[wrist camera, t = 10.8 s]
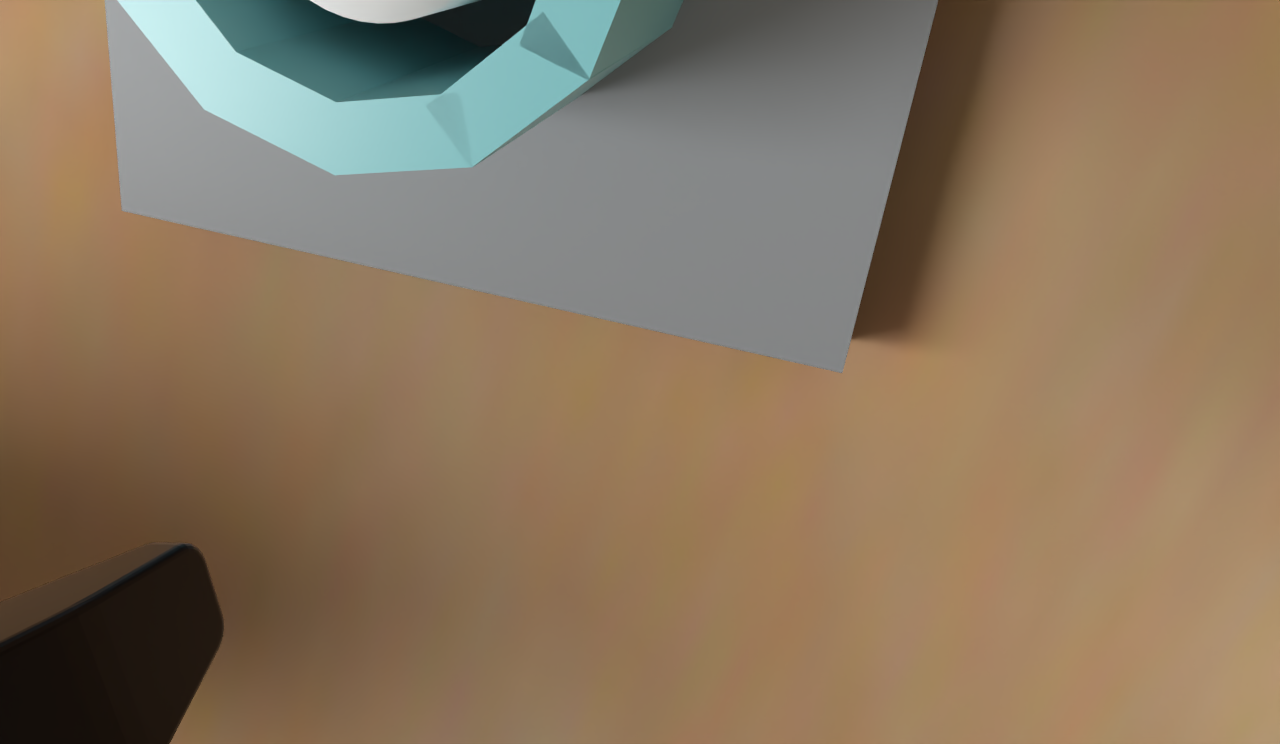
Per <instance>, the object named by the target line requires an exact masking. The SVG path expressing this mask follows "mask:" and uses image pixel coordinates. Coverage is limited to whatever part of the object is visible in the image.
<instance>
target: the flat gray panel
mask: <svg viewBox="0 0 1280 744" xmlns="http://www.w3.org/2000/svg"><path fill="white" fill-rule="evenodd" d="M310 1H312V2H313V3H315V4H317V5H319V6H320V7H322V8H324V9H326V10H328V11H330V12H333V13H335V14H337V15H340V16H342V17H346V18H349V19H353V20H357V21H361V22H370V23H397V22H402V21H408V20H413V19H416V18H420V17H421V18H423V19H425V20H427V21H429V22H431V23H433V24H435V25H437V26H439V27H441V28H443V29H445V30H447V31H449V32H451V33H453V34H455V35H457V36H459V37H461V38H463V39H465V40H467V41H469V42H471V43H473V44H475V45H477V46H479V47H482V46H493V45H503V44H504V43H505V42H506V41H508V40H509V39H510V38H511V37H513V36H514V35H515V34H516V33H518V32H519V31H520V30H521V29H523V28H524V27H525V26H526V25H527V23H528V20H529V18H530V15H531V12H532V9H533V7H534V4H535V1H536V0H310ZM937 3H938V0H683V3H682V5H681V7H680V9H679V12H678V14H677V16H676V19H675V21H674V23H673V26H672V28H671V29H669V30H668V31H666V32H665V33H664V34H662V35H661V36H659V37H658V38H657V39H655V40H654V41H653V42H651V43H650V44H649V45H647V46H646V47H645V48H643V49H642V50H641V51H639V52H638V53H637V54H635V55H634V56H633V57H631V58H630V59H629V60H627V61H626V62H625V63H623V64H622V65H621V66H619V67H618V68H617V69H615V70H614V71H613V72H611V73H610V74H609V75H607V76H606V77H604V78H603V79H602V80H600V81H599V82H598V83H596V84H595V85H594V86H592V87H591V88H590V89H588V90H587V91H586V92H584V93H583V94H582V95H581V96H579V97H578V98H576V99H575V100H573V101H572V102H570V103H569V104H567V105H566V106H564V107H563V108H561V109H560V110H558V111H557V112H555V113H554V114H552V115H551V116H549V117H548V118H546V119H545V120H543V121H542V122H540V123H539V124H537V125H536V126H534V127H533V128H531V129H530V130H528V131H527V132H525V133H524V134H522V135H521V136H519V137H518V138H516V139H515V140H513V141H512V142H510V143H509V144H507V145H506V146H504V147H503V148H501V149H500V150H498V151H497V152H495V153H494V154H492V155H491V156H489V157H488V158H486V159H485V160H483V161H482V162H480V163H479V164H477V165H476V166H474V167H472V168H471V167H468V168H451V169H434V170H417V171H400V172H383V173H365V174H348V175H336V176H335V175H333V174H331V173H329V172H327V171H325V170H323V169H321V168H319V167H317V166H315V165H313V164H311V163H309V162H307V161H305V160H303V159H301V158H299V157H298V156H296V155H294V154H292V153H290V152H288V151H286V150H284V149H282V148H280V147H278V146H276V145H274V144H272V143H270V142H268V141H266V140H264V139H262V138H260V137H258V136H256V135H254V134H252V133H250V132H248V131H246V130H244V129H242V128H240V127H238V126H236V125H234V124H232V123H230V122H228V121H226V120H224V119H222V118H220V117H218V116H216V115H214V114H212V113H210V112H208V111H206V110H204V109H203V108H202V106H201V105H200V104H199V103H198V101H197V100H196V99H195V98H194V96H193V95H192V94H191V92H190V91H189V90H188V89H187V87H186V86H185V85H184V84H183V82H182V81H181V80H180V79H179V77H178V76H177V75H176V74H175V72H174V71H173V70H172V69H171V67H170V66H169V65H168V64H167V62H166V61H165V60H164V59H163V57H162V56H161V55H160V54H159V52H158V51H157V50H156V48H155V47H154V46H153V45H152V43H151V42H150V41H149V40H148V38H147V37H146V36H145V35H144V33H143V32H142V31H141V30H140V28H139V27H138V26H137V25H136V23H135V22H134V21H133V20H132V18H131V17H130V16H129V15H128V13H127V12H126V11H125V9H124V8H123V7H122V6H121V4H120V3H119V2H118V1H117V0H105V9H106V21H107V33H108V46H109V58H110V71H111V83H112V95H113V108H114V120H115V132H116V145H117V157H118V170H119V182H120V194H121V207H122V211H125V212H129V213H134V214H138V215H143V216H147V217H152V218H156V219H160V220H165V221H169V222H174V223H178V224H183V225H187V226H191V227H196V228H200V229H205V230H209V231H214V232H218V233H223V234H227V235H231V236H236V237H240V238H245V239H249V240H254V241H258V242H263V243H267V244H271V245H276V246H280V247H285V248H289V249H294V250H298V251H302V252H307V253H311V254H316V255H320V256H325V257H329V258H334V259H338V260H342V261H347V262H351V263H356V264H360V265H365V266H369V267H373V268H378V269H382V270H387V271H391V272H396V273H400V274H405V275H409V276H413V277H418V278H422V279H427V280H431V281H436V282H440V283H445V284H449V285H453V286H458V287H462V288H467V289H471V290H476V291H480V292H484V293H489V294H493V295H498V296H502V297H507V298H511V299H516V300H520V301H524V302H529V303H533V304H538V305H542V306H547V307H551V308H555V309H560V310H564V311H569V312H573V313H578V314H582V315H587V316H591V317H595V318H600V319H604V320H609V321H613V322H618V323H622V324H626V325H631V326H635V327H640V328H644V329H649V330H653V331H658V332H662V333H666V334H671V335H675V336H680V337H684V338H689V339H693V340H698V341H702V342H706V343H711V344H715V345H720V346H724V347H729V348H733V349H737V350H742V351H746V352H751V353H755V354H760V355H764V356H769V357H773V358H777V359H782V360H786V361H791V362H795V363H800V364H804V365H808V366H813V367H817V368H822V369H826V370H831V371H835V372H840V373H842V372H843V368H844V364H845V360H846V357H847V353H848V349H849V345H850V341H851V337H852V333H853V329H854V325H855V322H856V318H857V314H858V310H859V306H860V302H861V298H862V294H863V291H864V287H865V283H866V279H867V275H868V271H869V267H870V263H871V260H872V256H873V252H874V248H875V244H876V240H877V236H878V232H879V228H880V225H881V221H882V217H883V213H884V209H885V205H886V201H887V197H888V194H889V190H890V186H891V182H892V178H893V174H894V170H895V166H896V163H897V159H898V155H899V151H900V147H901V143H902V139H903V135H904V131H905V128H906V124H907V120H908V116H909V112H910V108H911V104H912V100H913V97H914V93H915V89H916V85H917V81H918V77H919V73H920V69H921V66H922V62H923V58H924V54H925V50H926V46H927V42H928V38H929V34H930V31H931V27H932V23H933V19H934V15H935V11H936V7H937Z"/></svg>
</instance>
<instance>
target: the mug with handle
mask: <svg viewBox="0 0 1280 744" xmlns="http://www.w3.org/2000/svg"><path fill="white" fill-rule="evenodd" d="M117 1H118V2H119V3H120V4H121V6H122V7H123V8H124V9H125V11H126V12H127V13H128V15H129V16H130V17H131V18H132V20H133V21H134V22H135V23H136V25H137V26H138V27H139V28H140V30H141V31H142V32H143V33H144V35H145V36H146V37H147V38H148V40H149V41H150V42H151V43H152V45H153V46H154V47H155V48H156V50H157V51H158V52H159V54H160V55H161V56H162V57H163V59H164V60H165V61H166V62H167V64H168V65H169V66H170V67H171V69H172V70H173V71H174V72H175V74H176V75H177V76H178V77H179V79H180V80H181V81H182V82H183V84H184V85H185V86H186V87H187V89H188V90H189V91H190V92H191V94H192V95H193V96H194V98H195V99H196V100H197V101H198V103H199V104H200V105H201V106H202V108H203V109H204V110H206V111H208V112H210V113H212V114H214V115H216V116H218V117H220V118H222V119H224V120H226V121H228V122H230V123H232V124H234V125H236V126H238V127H240V128H242V129H244V130H246V131H248V132H250V133H252V134H254V135H256V136H258V137H260V138H262V139H264V140H266V141H268V142H270V143H272V144H274V145H276V146H278V147H280V148H282V149H284V150H286V151H288V152H290V153H292V154H294V155H296V156H298V157H299V158H301V159H303V160H305V161H307V162H309V163H311V164H313V165H315V166H317V167H319V168H321V169H323V170H325V171H327V172H329V173H331V174H333V175H335V176H336V175H348V174H365V173H383V172H400V171H417V170H434V169H451V168H468V167H471V168H472V167H474V166H476V165H477V164H479V163H480V162H482V161H483V160H485V159H486V158H488V157H489V156H491V155H492V154H494V153H495V152H497V151H498V150H500V149H501V148H503V147H504V146H506V145H507V144H509V143H510V142H512V141H513V140H515V139H516V138H518V137H519V136H521V135H522V134H524V133H525V132H527V131H528V130H530V129H531V128H533V127H534V126H536V125H537V124H539V123H540V122H542V121H543V120H545V119H546V118H548V117H549V116H551V115H552V114H554V113H555V112H557V111H558V110H560V109H561V108H563V107H564V106H566V105H567V104H569V103H570V102H572V101H573V100H575V99H576V98H578V97H579V96H581V95H582V94H583V93H584V92H586V91H587V90H588V89H590V88H591V87H592V86H594V85H595V84H596V83H598V82H599V81H600V80H602V79H603V78H604V77H606V76H607V75H609V74H610V73H611V72H613V71H614V70H615V69H617V68H618V67H619V66H621V65H622V64H623V63H625V62H626V61H627V60H629V59H630V58H631V57H633V56H634V55H635V54H637V53H638V52H639V51H641V50H642V49H643V48H645V47H646V46H647V45H649V44H650V43H651V42H653V41H654V40H655V39H657V38H658V37H659V36H661V35H662V34H664V33H665V32H666V31H668V30H669V29H671V28H672V26H673V23H674V21H675V19H676V16H677V14H678V12H679V9H680V7H681V5H682V3H683V0H536V1H535V4H534V7H533V9H532V12H531V15H530V18H529V20H528V23H527V25H526V26H525V27H524V28H523V29H521V30H520V31H519V32H518V33H516V34H515V35H514V36H513V37H511V38H510V39H509V40H508V41H506V42H505V43H504V44H503V45H493V46H482V47H479V46H477V45H475V44H473V43H471V42H469V41H467V40H465V39H463V38H461V37H459V36H457V35H455V34H453V33H451V32H449V31H447V30H445V29H443V28H441V27H439V26H437V25H435V24H433V23H431V22H429V21H427V20H425V19H423V18H421V17H420V18H416V19H413V20H408V21H402V22H397V23H370V22H361V21H357V20H353V19H349V18H346V17H342V16H340V15H337V14H335V13H333V12H330V11H328V10H326V9H324V8H322V7H320V6H319V5H317V4H315V3H313V2H312V1H310V0H117Z"/></svg>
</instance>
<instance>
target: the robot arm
mask: <svg viewBox="0 0 1280 744" xmlns="http://www.w3.org/2000/svg"><path fill="white" fill-rule="evenodd" d="M223 631H224V620H223V615H222V612H221V608H220V605H219V602H218V599H217V596H216V592H215V589H214V586H213V583H212V580H211V577H210V573H209V570H208V567H207V564H206V561H205V558H204V556H203V554H202V553H201V551H200V550H199V549H198V548H197V547H196V546H194V545H192V544H189V543H170V542H154V543H149V544H146V545H143V546H141V547H138V548H136V549H133V550H130V551H128V552H125V553H123V554H120V555H118V556H115V557H113V558H110V559H108V560H105V561H103V562H100V563H98V564H95V565H93V566H90V567H88V568H85V569H83V570H80V571H77V572H75V573H72V574H70V575H67V576H65V577H62V578H60V579H57V580H55V581H52V582H50V583H47V584H45V585H42V586H40V587H37V588H35V589H32V590H30V591H27V592H25V593H22V594H19V595H17V596H14V597H12V598H9V599H7V600H4V601H2V602H0V744H170V742H171V740H172V738H173V736H174V734H175V732H176V730H177V728H178V726H179V724H180V722H181V720H182V718H183V717H184V715H185V713H186V711H187V709H188V707H189V705H190V703H191V701H192V699H193V697H194V695H195V693H196V691H197V689H198V688H199V686H200V684H201V682H202V680H203V678H204V676H205V674H206V672H207V670H208V668H209V666H210V664H211V662H212V661H213V659H214V657H215V655H216V653H217V651H218V649H219V647H220V644H221V641H222V637H223Z"/></svg>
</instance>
